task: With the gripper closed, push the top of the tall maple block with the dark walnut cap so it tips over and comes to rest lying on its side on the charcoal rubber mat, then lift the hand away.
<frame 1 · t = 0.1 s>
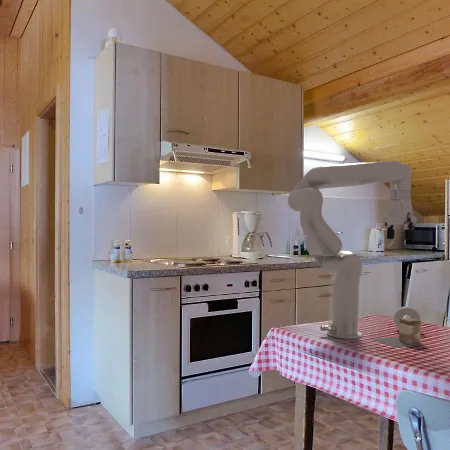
hand: (399, 239, 178), 37 cm above the table, tool pointing down, fingers open, 9 cm apart
mat: (398, 342, 161), on the table
tall block: (409, 341, 161), resting on mat
donut: (406, 332, 179), on the table
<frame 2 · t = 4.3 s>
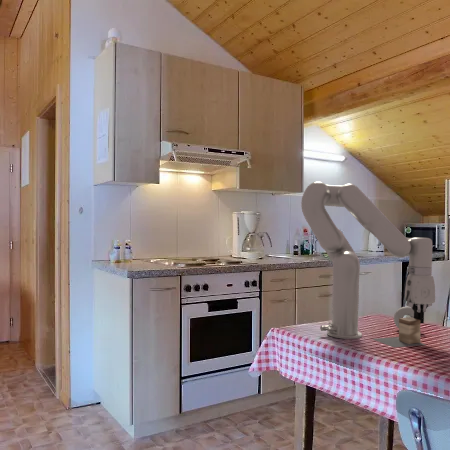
hand: (418, 322, 162), 7 cm above the table, tool pointing down, fingers closed
tall block: (409, 341, 161), point 1 cm above the table, touching gripper, mat
everything else where it was.
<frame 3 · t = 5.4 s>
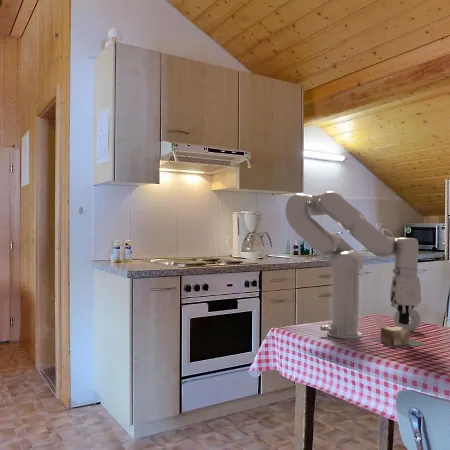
hand: (403, 323, 160), 7 cm above the table, tool pointing down, fingers closed
tall block: (404, 335, 160), point 3 cm above the table, tilted 90°, touching mat
everything else where it was.
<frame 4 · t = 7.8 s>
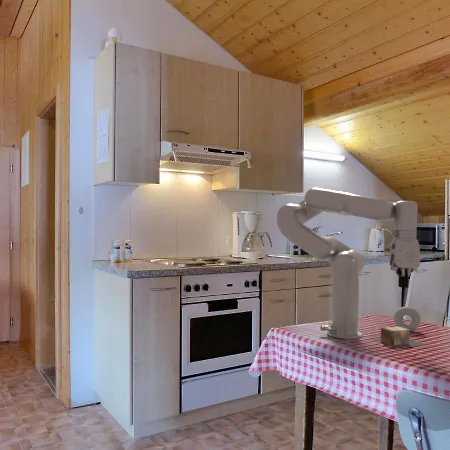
hand: (403, 287, 160), 20 cm above the table, tool pointing down, fingers closed
nothing on the table moved.
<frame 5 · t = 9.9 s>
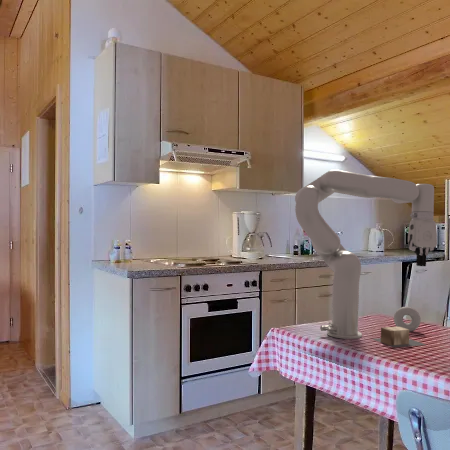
hand: (421, 265, 169), 27 cm above the table, tool pointing down, fingers closed
nothing on the table moved.
at the end: tall block tilted 90°; tall block inside the target area on the mat (1.4 cm from its centre), point 2.9 cm above the mat's base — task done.
